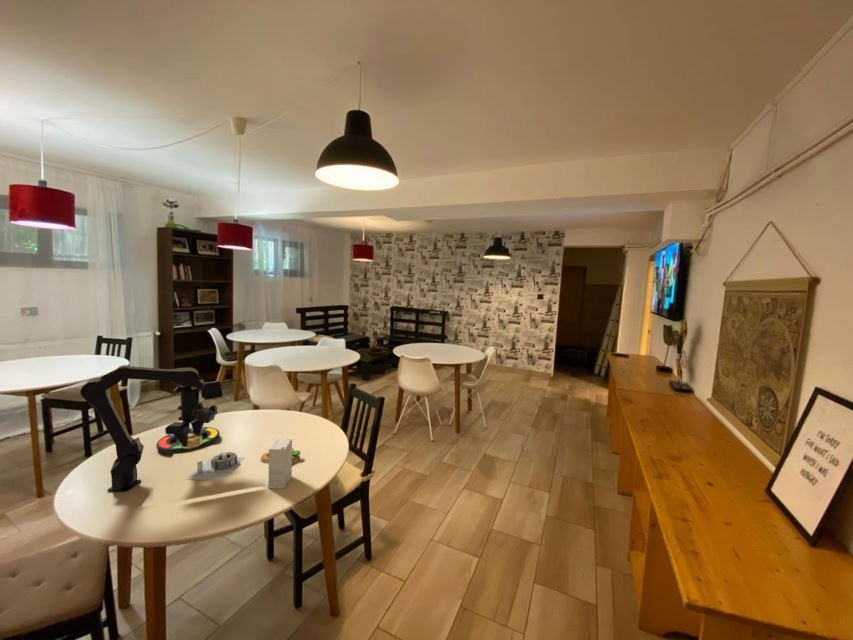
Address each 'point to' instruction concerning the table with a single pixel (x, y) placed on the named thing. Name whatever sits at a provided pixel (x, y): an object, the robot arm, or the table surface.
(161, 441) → the electronic game
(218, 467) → the gear
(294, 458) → the toy food set
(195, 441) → the brass gear
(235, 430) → the table surface
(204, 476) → the gear board
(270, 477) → the skincare box
